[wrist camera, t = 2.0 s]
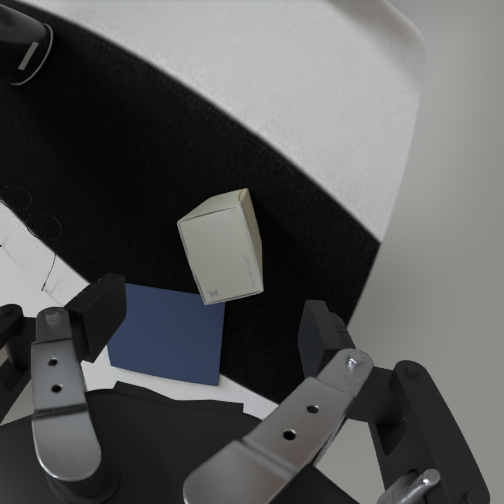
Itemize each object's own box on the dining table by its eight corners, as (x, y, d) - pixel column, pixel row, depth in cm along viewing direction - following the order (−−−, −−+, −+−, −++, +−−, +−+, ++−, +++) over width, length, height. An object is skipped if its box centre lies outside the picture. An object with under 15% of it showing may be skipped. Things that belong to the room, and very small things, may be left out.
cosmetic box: (262, 243, 31) (267, 295, 19) (221, 252, 31) (204, 309, 20) (247, 185, 29) (243, 203, 17) (205, 196, 29) (174, 221, 18)
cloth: (111, 364, 36) (110, 365, 36) (99, 278, 32) (98, 279, 32) (218, 384, 37) (217, 386, 37) (225, 297, 33) (225, 299, 32)
